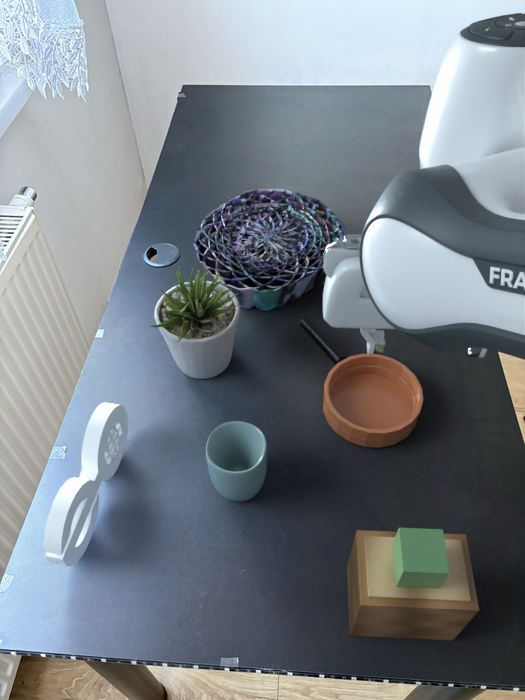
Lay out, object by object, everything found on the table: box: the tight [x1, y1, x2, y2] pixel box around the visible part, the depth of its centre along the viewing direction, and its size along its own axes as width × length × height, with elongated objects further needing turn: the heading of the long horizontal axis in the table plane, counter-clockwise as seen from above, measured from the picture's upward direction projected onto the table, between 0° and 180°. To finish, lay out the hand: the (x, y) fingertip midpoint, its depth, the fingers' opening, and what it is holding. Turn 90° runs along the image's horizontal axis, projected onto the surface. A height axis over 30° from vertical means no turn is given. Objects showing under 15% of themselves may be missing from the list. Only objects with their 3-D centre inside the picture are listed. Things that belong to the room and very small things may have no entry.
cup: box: [205, 420, 268, 502], centre depth 79 cm, size 8×8×10 cm
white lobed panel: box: [43, 402, 129, 567], centre depth 78 cm, size 22×2×10 cm, turn 169°
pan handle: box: [298, 316, 347, 366], centre depth 95 cm, size 10×2×2 cm, turn 32°
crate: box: [346, 529, 480, 641], centre depth 68 cm, size 12×8×12 cm, turn 87°
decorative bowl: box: [192, 188, 346, 312], centre depth 107 cm, size 26×28×10 cm
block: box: [392, 527, 449, 589], centre depth 61 cm, size 4×4×4 cm
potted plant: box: [149, 265, 241, 380], centre depth 89 cm, size 13×14×20 cm
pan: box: [322, 353, 424, 449], centre depth 89 cm, size 14×14×4 cm
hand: (423, 350), depth 57 cm, fingers open, 8 cm apart
